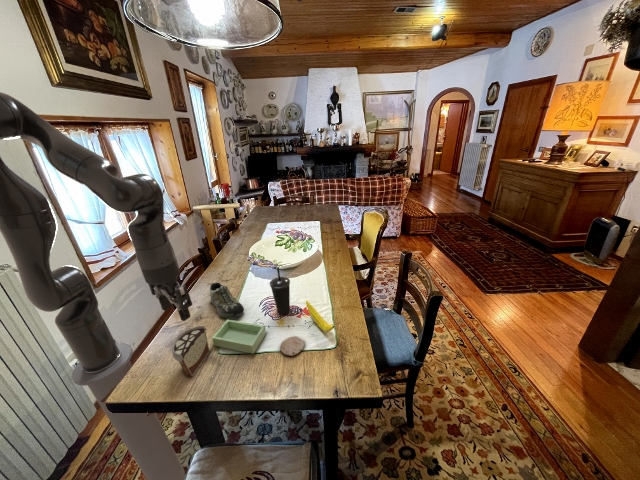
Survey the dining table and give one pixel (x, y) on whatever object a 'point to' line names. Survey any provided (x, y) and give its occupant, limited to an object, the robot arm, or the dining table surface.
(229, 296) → the hiking shoe
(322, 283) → the dining table surface
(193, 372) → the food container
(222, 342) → the holder
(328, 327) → the banana
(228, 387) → the dining table surface
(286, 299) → the drinking cup
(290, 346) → the flatbread
